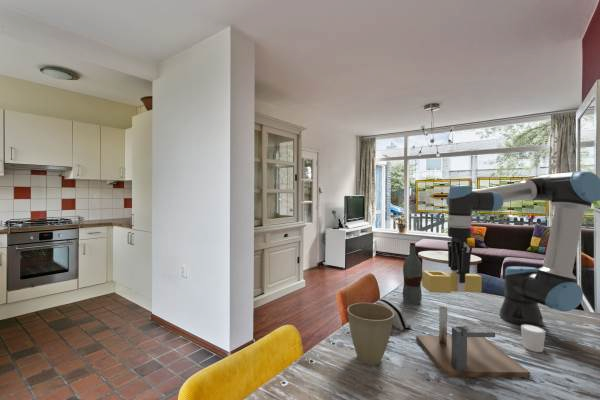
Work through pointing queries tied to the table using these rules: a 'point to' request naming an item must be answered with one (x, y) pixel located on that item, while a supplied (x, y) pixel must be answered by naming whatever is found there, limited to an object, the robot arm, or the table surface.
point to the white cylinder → (533, 337)
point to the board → (473, 358)
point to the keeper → (465, 343)
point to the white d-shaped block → (395, 314)
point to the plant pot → (370, 330)
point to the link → (449, 282)
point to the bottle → (412, 278)
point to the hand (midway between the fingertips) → (457, 289)
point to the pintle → (443, 325)
